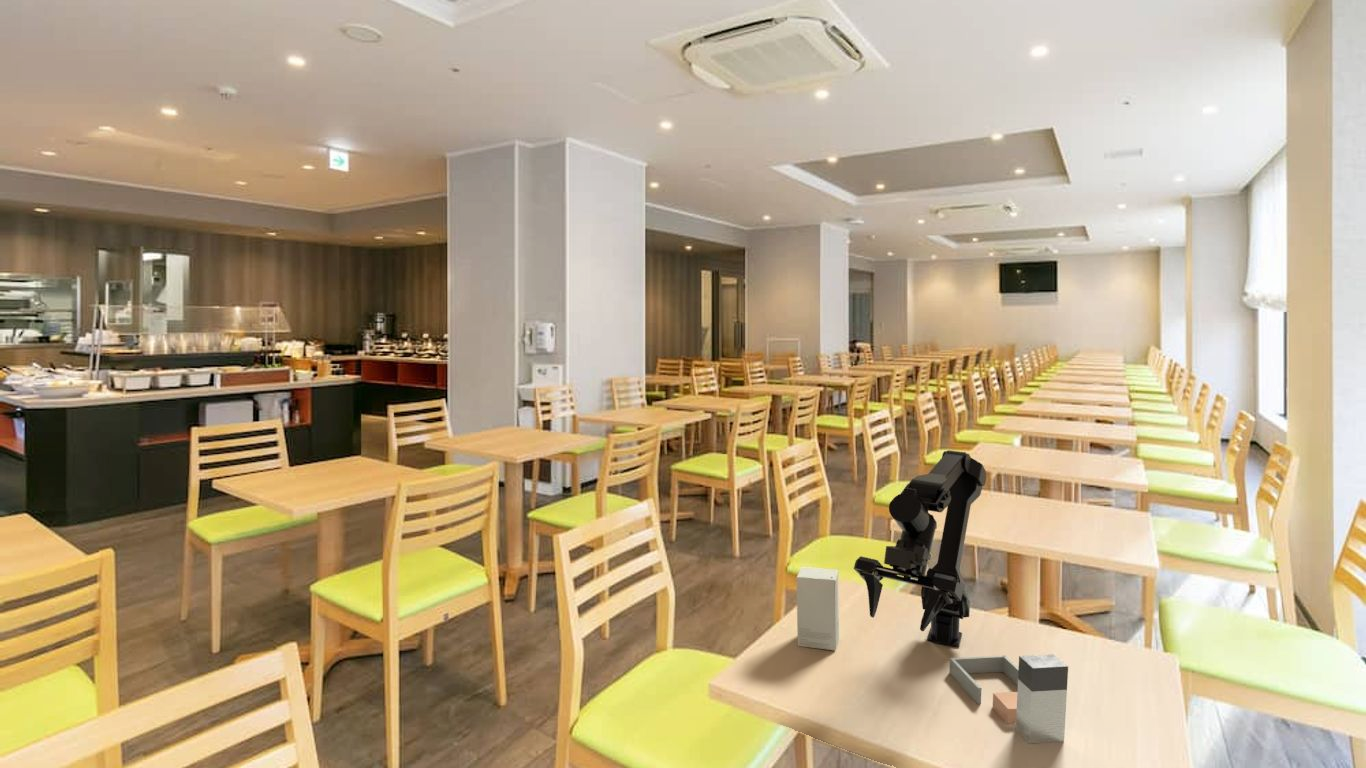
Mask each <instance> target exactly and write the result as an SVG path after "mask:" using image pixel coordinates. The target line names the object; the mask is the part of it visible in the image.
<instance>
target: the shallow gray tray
mask: <svg viewBox="0 0 1366 768" xmlns="http://www.w3.org/2000/svg"><path fill="white" fill-rule="evenodd" d="M1018 670H1019V666H1017V665H1016V664H1015V663H1014V662H1013V661H1012V660H1011V659H1009V658H1008V657H1007V656H1006V655H987V656H986V655H984V656H965V657H964V656H963V657H949V674H950V675H951V676H952V678H953V679H954V680H955V681H956V682H957V683H958V684H959V685H960V686H961V688H962V689H963V690H965V692H966V693H967V694H968V695H969V696H970V697H971V698H972V699H973V700H974V702H975V703H976V704H978V705H980V704H982V686H980V685H979V684H978V683H977V681H975V679H973V677H972V676H971V675H970V674H980V673H982V674H983V673H998V672H999V673H1000V672H1002V673H1004V675H1006V676H1007V677H1008V678H1009V679H1010V680H1011V681H1012V682H1013V683H1014V684H1015V685H1017V686H1018Z"/></svg>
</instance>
